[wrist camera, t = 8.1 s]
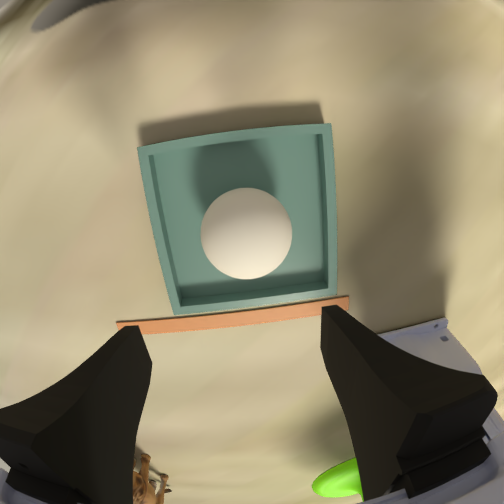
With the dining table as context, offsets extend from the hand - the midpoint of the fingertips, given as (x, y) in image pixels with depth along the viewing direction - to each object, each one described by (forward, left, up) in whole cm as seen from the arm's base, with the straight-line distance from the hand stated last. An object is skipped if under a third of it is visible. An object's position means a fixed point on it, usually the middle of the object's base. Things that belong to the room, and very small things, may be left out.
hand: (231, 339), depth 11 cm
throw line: (+1, +5, -9) cm, 11 cm away
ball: (-1, -2, -9) cm, 9 cm away
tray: (-1, -2, -9) cm, 10 cm away
